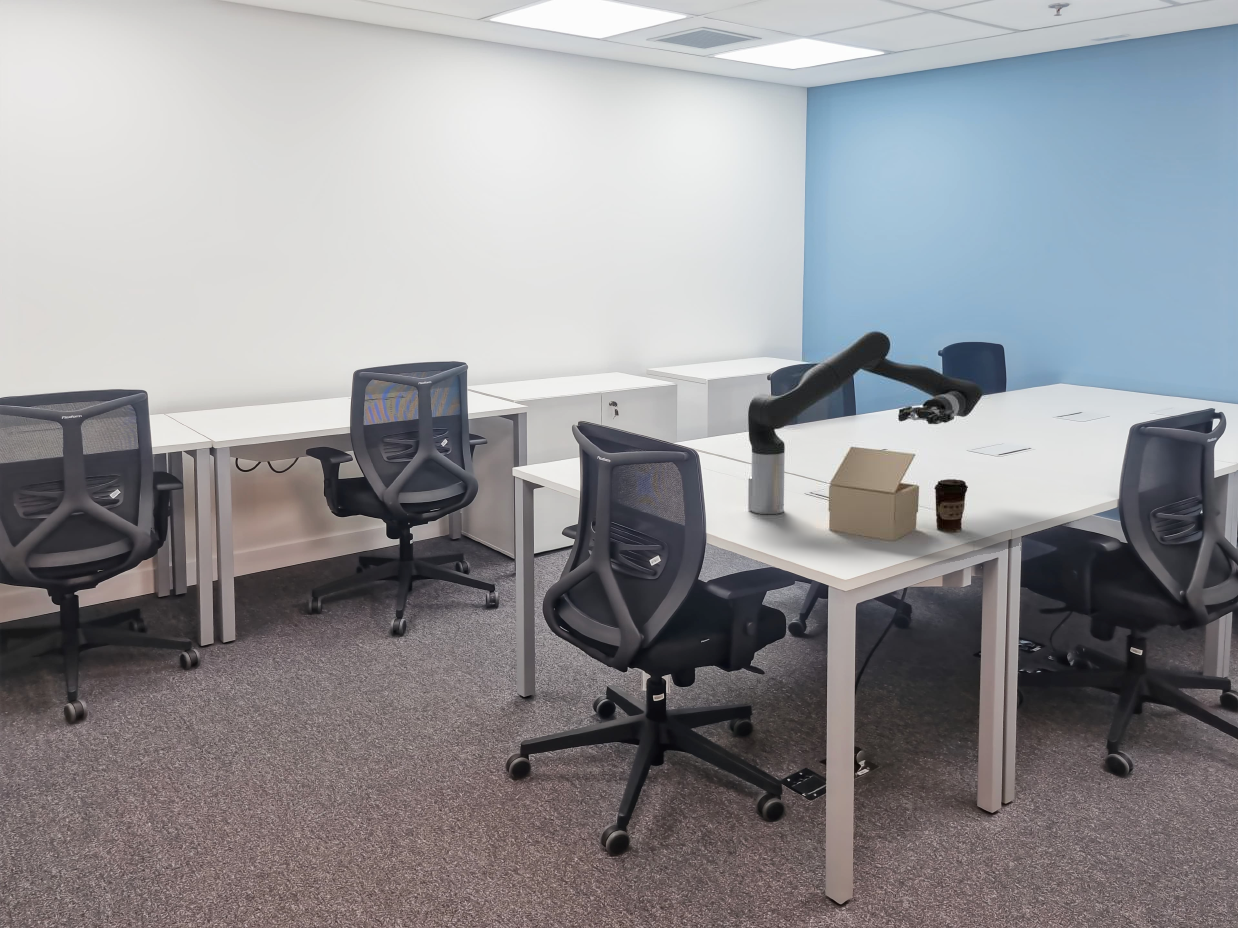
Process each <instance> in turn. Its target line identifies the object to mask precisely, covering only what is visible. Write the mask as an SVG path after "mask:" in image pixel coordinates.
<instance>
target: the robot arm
mask: <svg viewBox="0 0 1238 928" xmlns="http://www.w3.org/2000/svg"><path fill="white" fill-rule="evenodd" d="M890 350H891V341H890V339H889V336H888V335H886V333H883V332H880V331H878V330H877V331H876V330H875V331H874V330H873V331H872V330H871V331H869V332H865V333H864V334H863V335H862V336H861V337H859V338H858V339H857V340H856V341H854V342H853V343H852V344H851V345H850V346H849V345H848V347H846V348H844V349H843V350H841V351H840V352H838V353H835V354H833V355H831V356H830V357H829V358H827V359H825V360H823V361H822V362H820V363H818V364H816V365H815V366H813V367H811V368H810V369H808V370H807V371H806V372H805V373H804V374H803V375H802V377H801V379H800V380H799V383H798V386H796V387H795V388H794V389H792V390H790V391H789V392H786V393H784V394H782V395H778V396H777V395H771V394H764V393H763V394H758V395H755V396H754V397H753V398H752V399H751V401H750V403H749V406H748V412H747V423H748V441H749V443H750V445H751V476H750V477H748V486H747V487H748V491H747V492H748V493H747V497H748V503H747V506H748V507H747V510H748V511H751V512H752V513H755V514H760V515H777V514H781V513H783V512H784V510H785V509H784V508H785V507H784V505H785V459H786V458H785V457H786V456H785V454H786V453H785V451H786V449H785V448H786V447H785V445H786V444H785V442H784V441H783V440H782V439H781V438H780V437H779V436H778V435H777V433H776V431H775V430H780V429H782V428H784V427H786V426H787V425H788V424H790V423H791V422H793V421H794V420H795V419H797V417H798V416H800V415H801V414H802V413H804V411H806V410H808V409H809V408H811V407H812V406H814V405H816V404H817V403H818V402H821V400H824V399H825V398H827V397H828V396H830V395H832V394H833V393H835V392H837V391H838V390H839V389H840V388H841V387H843V386H844V385H845V384H846V383H847V382H848V381H849V380H850V379H852V377H853V376H854V375H855V374H857V373H858V371H860V370H863V371H865V372H868V373H870V374H874V375H877V376H882V377H883V378H887V379H890V380H893V381H896V382H899V383H902V384H905V385H909V386H910V387H913V388H915V389H918V390H920V391H921V392H923V393H925V394H928V395H929V396H932V397H931V398H927V400H925V402H924V403H923V404H922V405H920V406H917V407H913V406H912V405H911V406H910V405H909V406H906V407H903V408H900V409H898V415H897V416H898V417H897V419H898V421H899V422H904V421H907V420H913V421H926V422H927V425H940V424H942V423H944V424H947V423H949V422H950V421H953V420H954V419H955V417H956V416H957V417H962V418H964V417H967V416H968V415H970V414H971V412H972V411H973V410H974V408H975V407H976V405H977V404H978V402H979V401H980V400H981V399H982V396H983V389H982V388H981V386H980V385H978V384H977V383H975V382H972V381H969V380H965V379H959V378H954V377H950V376H947V375H945V374H943V373H940V371H939V372H938V371H937V370H935V369H932V368H930V367H928V366H923V365H917V364H905V363H901V362H896V361H893V360H890V359H888V358H886V357H887V356H888V355H889V353H890Z"/></svg>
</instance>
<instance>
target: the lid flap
mask: <svg viewBox="0 0 1238 928" xmlns="http://www.w3.org/2000/svg"><path fill="white" fill-rule="evenodd" d="M915 456H916V454H915V453H909V452H900V451H894V450H892V451H891V450H882V449H875V448H867V447H866V448H865V447H857V446H850V448H849V449H848V451H847V453H846V455H845V456H844V458H843V460H842V461H841V464H840V465H839V467H838V469H837V470H836V472H835V474H834V475H833V477H832V479H831V480H830V481H829V485H836V486H843V487H850V488H857V489H864V490H871V491H878V492H885V493H893V494H895V492H896V490H897V488H898V486H899V485H900V483H902V481H903V479H904V477H905V475H906V473H907V471H908V469H909V468H910V466H911V464H912V462H913V460H914V458H915Z"/></svg>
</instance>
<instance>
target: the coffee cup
mask: <svg viewBox="0 0 1238 928" xmlns="http://www.w3.org/2000/svg"><path fill="white" fill-rule="evenodd" d="M968 488H969V486H968V485H967V483H966V482H965V480H962V479H954V478H953V479H952V478H951V479H950V478H949V479H948V478H947V479H941V480H938V481H937V484H935V486H934V491H935V515H936V519H935V520H936V521H935V522H936V529H937V530H938V531H942V532H951V533H952V532H960V531H962V530H963V527H962V524H963V523H962V519H963V517H964V516H963V515H964V510H965V506H966V493H967V492H968Z"/></svg>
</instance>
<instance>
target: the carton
mask: <svg viewBox="0 0 1238 928" xmlns="http://www.w3.org/2000/svg"><path fill="white" fill-rule="evenodd" d="M919 497H920V486H919V484H912V483H904V482H901V483H900V485H899V486H898V488H897V490H896V492H895V494H893V493H885V492H878V491H871V490H864V489H857V488H850V487H843V486H836V485H830V484H829V485H828V512H829V514H828V517H829V519H828V521H829V522H828V525H829V526H828V530H829V531H833V532H838V533H843V534H850V535H856V536H861V537H862V536H863V537H868V538H873V539H880V540H886V541H892V542H894V541H895V540H897V539H898V540H899V538H902V537H904V536H906V535H908V534H910V533H911V532H914V531H916V530H917V517H918V515H917V513H919V499H920V498H919Z"/></svg>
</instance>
